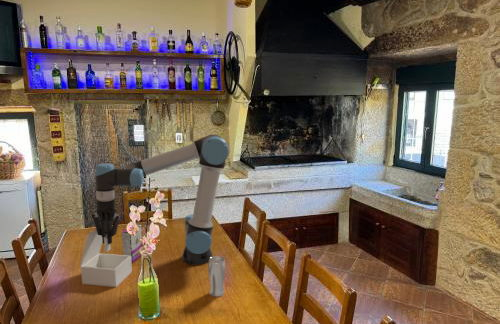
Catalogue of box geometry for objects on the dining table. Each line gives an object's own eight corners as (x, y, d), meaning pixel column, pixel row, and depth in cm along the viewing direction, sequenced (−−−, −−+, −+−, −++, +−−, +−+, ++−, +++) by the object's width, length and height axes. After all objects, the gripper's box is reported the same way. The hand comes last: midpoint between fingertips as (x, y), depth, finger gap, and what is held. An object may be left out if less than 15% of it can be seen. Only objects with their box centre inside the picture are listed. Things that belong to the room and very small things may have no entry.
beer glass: (206, 291, 147) (205, 257, 145) (221, 286, 151) (220, 254, 148) (212, 299, 141) (212, 264, 139) (228, 294, 145) (227, 261, 142)
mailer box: (131, 271, 163) (131, 255, 162) (116, 287, 150) (115, 269, 148) (100, 268, 166) (99, 253, 165) (82, 283, 152) (80, 266, 151)
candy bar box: (134, 253, 183) (133, 223, 180) (143, 254, 182) (141, 224, 179) (123, 263, 172) (121, 231, 169) (132, 264, 171) (130, 232, 168)
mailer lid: (107, 223, 161) (105, 222, 161) (88, 234, 148) (87, 234, 148) (99, 253, 165) (98, 252, 165) (80, 266, 151) (79, 266, 151)
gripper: (86, 200, 149) (89, 252, 152) (114, 202, 147) (116, 255, 151) (97, 196, 156) (99, 245, 160) (123, 198, 154) (125, 248, 158)
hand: (107, 250), depth 155 cm, fingers closed
